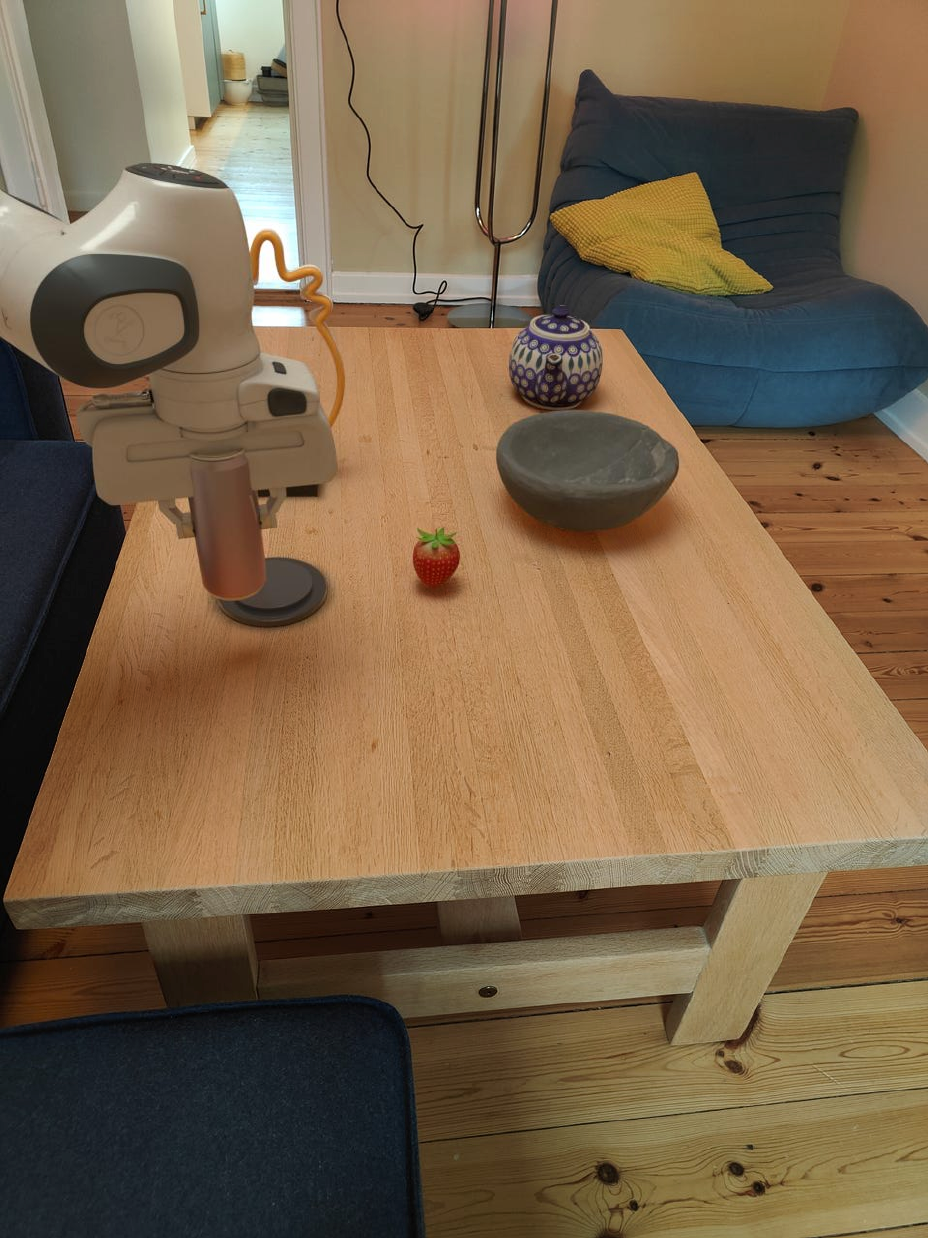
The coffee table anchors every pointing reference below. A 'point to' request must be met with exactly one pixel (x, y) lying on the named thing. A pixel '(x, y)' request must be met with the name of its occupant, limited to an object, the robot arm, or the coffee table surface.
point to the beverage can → (227, 525)
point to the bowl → (585, 468)
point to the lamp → (315, 316)
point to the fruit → (435, 558)
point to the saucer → (281, 595)
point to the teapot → (555, 361)
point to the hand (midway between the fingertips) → (228, 530)
